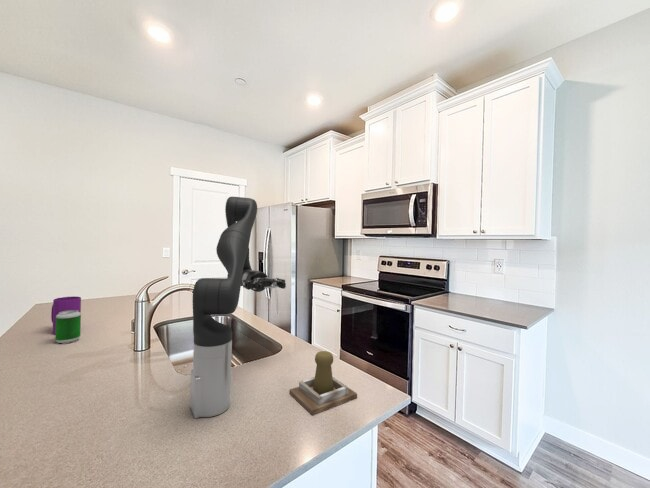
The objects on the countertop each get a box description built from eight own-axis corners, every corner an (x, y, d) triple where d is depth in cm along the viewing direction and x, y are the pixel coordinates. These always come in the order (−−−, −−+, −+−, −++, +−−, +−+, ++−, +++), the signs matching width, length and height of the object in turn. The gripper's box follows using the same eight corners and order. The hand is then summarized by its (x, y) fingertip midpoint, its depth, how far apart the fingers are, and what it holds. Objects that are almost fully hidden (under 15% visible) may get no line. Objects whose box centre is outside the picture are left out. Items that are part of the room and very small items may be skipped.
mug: (59, 336, 121) (60, 301, 121) (39, 331, 127) (40, 297, 127) (84, 330, 130) (85, 297, 130) (64, 325, 135) (65, 294, 135)
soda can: (83, 340, 117) (83, 311, 117) (58, 346, 111) (59, 315, 111) (76, 336, 121) (77, 308, 121) (52, 341, 115) (53, 312, 115)
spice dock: (312, 415, 71) (312, 402, 71) (289, 393, 81) (289, 382, 81) (357, 397, 80) (357, 386, 80) (331, 380, 90) (331, 370, 90)
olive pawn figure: (331, 398, 77) (332, 358, 77) (310, 395, 78) (311, 355, 78) (335, 387, 83) (336, 349, 83) (315, 384, 84) (316, 347, 84)
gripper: (236, 271, 105) (252, 276, 92) (272, 269, 113) (291, 274, 100) (236, 291, 105) (252, 299, 92) (271, 288, 113) (291, 295, 100)
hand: (272, 286), depth 96 cm, fingers open, 8 cm apart
